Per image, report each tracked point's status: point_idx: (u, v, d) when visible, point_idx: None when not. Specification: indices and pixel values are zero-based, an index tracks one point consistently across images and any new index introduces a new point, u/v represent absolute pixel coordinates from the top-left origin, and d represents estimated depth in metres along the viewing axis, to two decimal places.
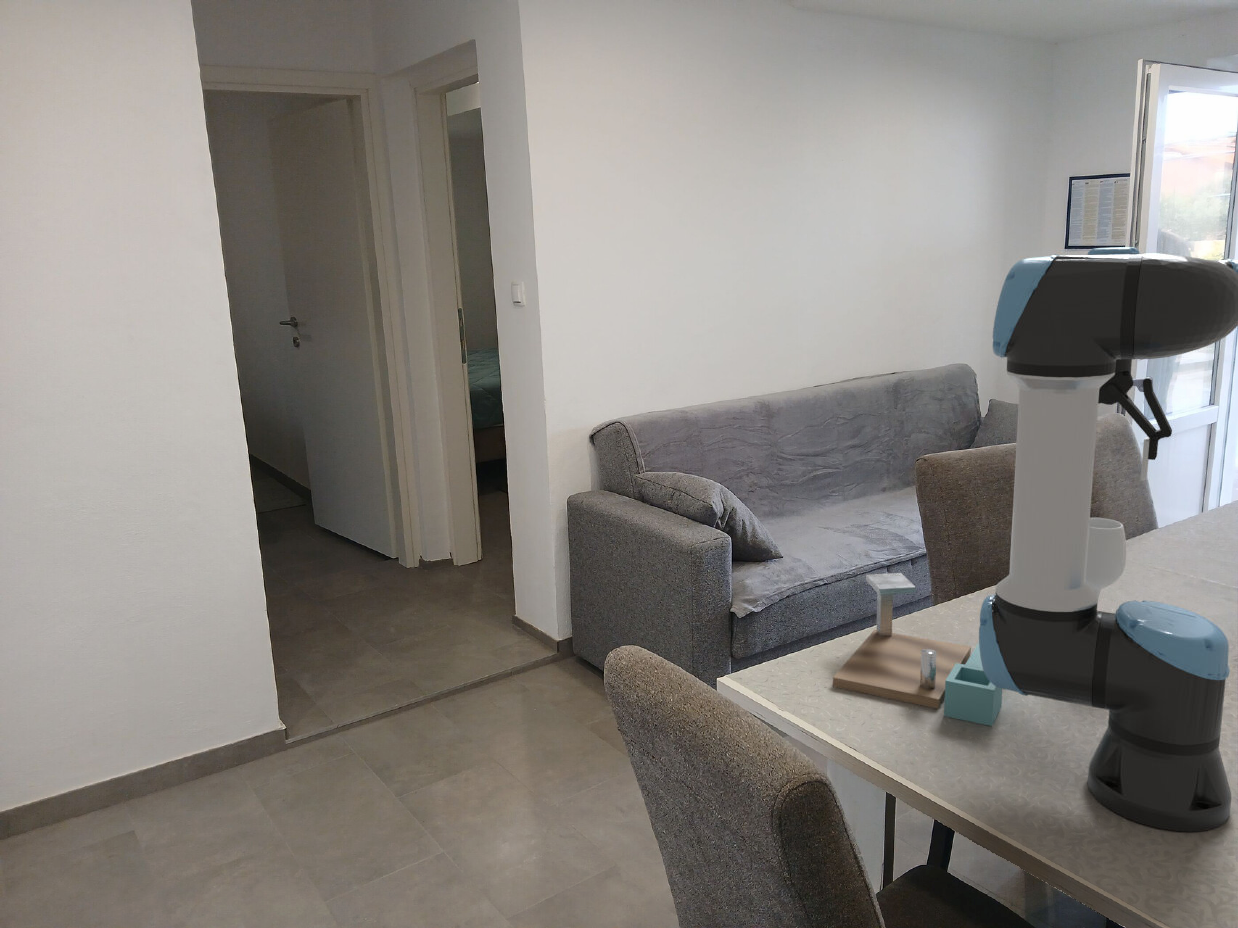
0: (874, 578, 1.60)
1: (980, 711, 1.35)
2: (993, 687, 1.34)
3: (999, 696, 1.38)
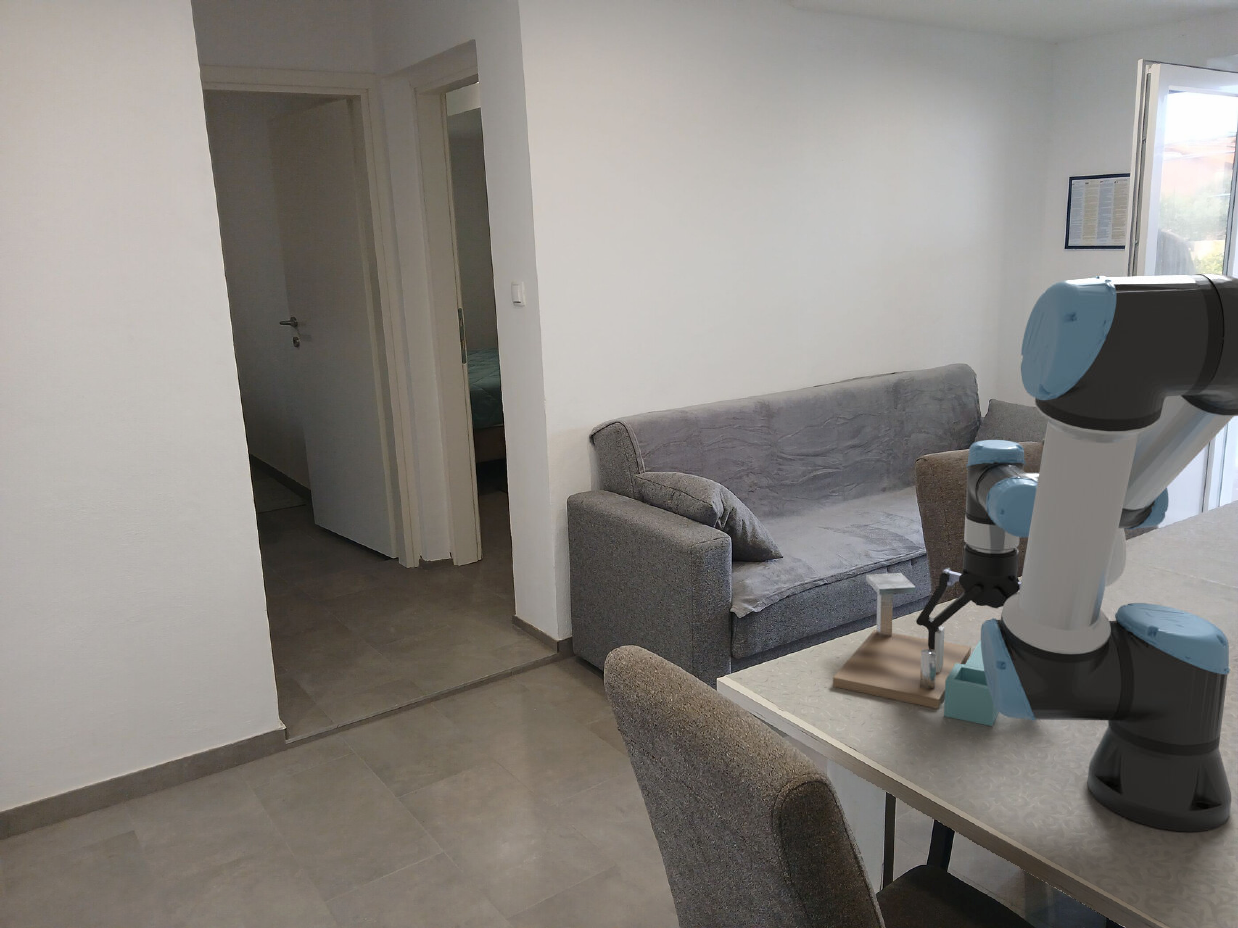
0: (874, 578, 1.60)
1: (980, 711, 1.35)
2: None
3: None
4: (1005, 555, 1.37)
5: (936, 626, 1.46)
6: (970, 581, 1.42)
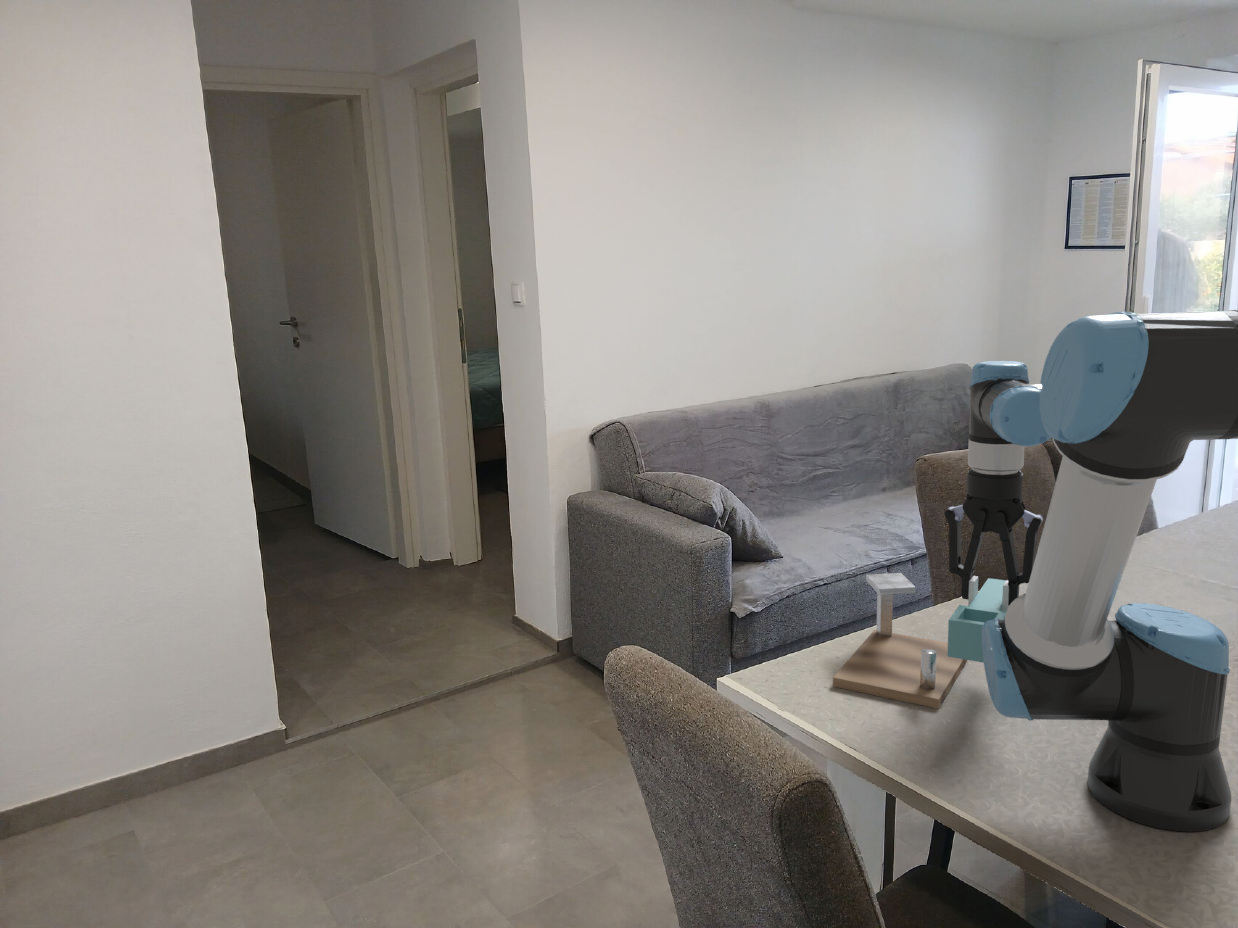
0: (874, 578, 1.60)
1: None
2: None
3: None
4: (1009, 476, 1.35)
5: (969, 572, 1.41)
6: (974, 507, 1.39)
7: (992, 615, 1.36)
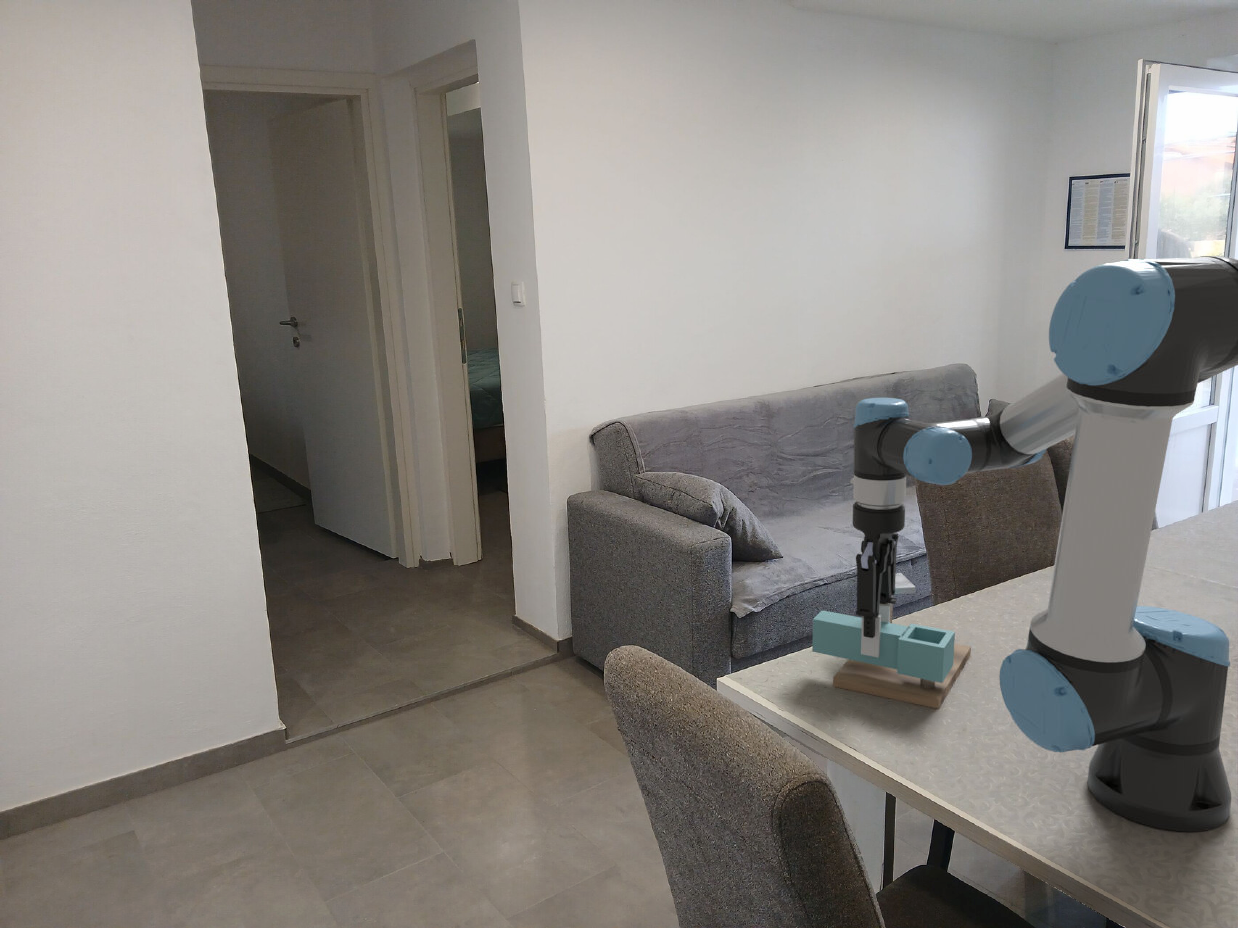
0: None
1: (951, 658, 1.43)
2: (949, 631, 1.43)
3: None
4: None
5: (878, 608, 1.42)
6: (880, 544, 1.40)
7: (913, 632, 1.45)
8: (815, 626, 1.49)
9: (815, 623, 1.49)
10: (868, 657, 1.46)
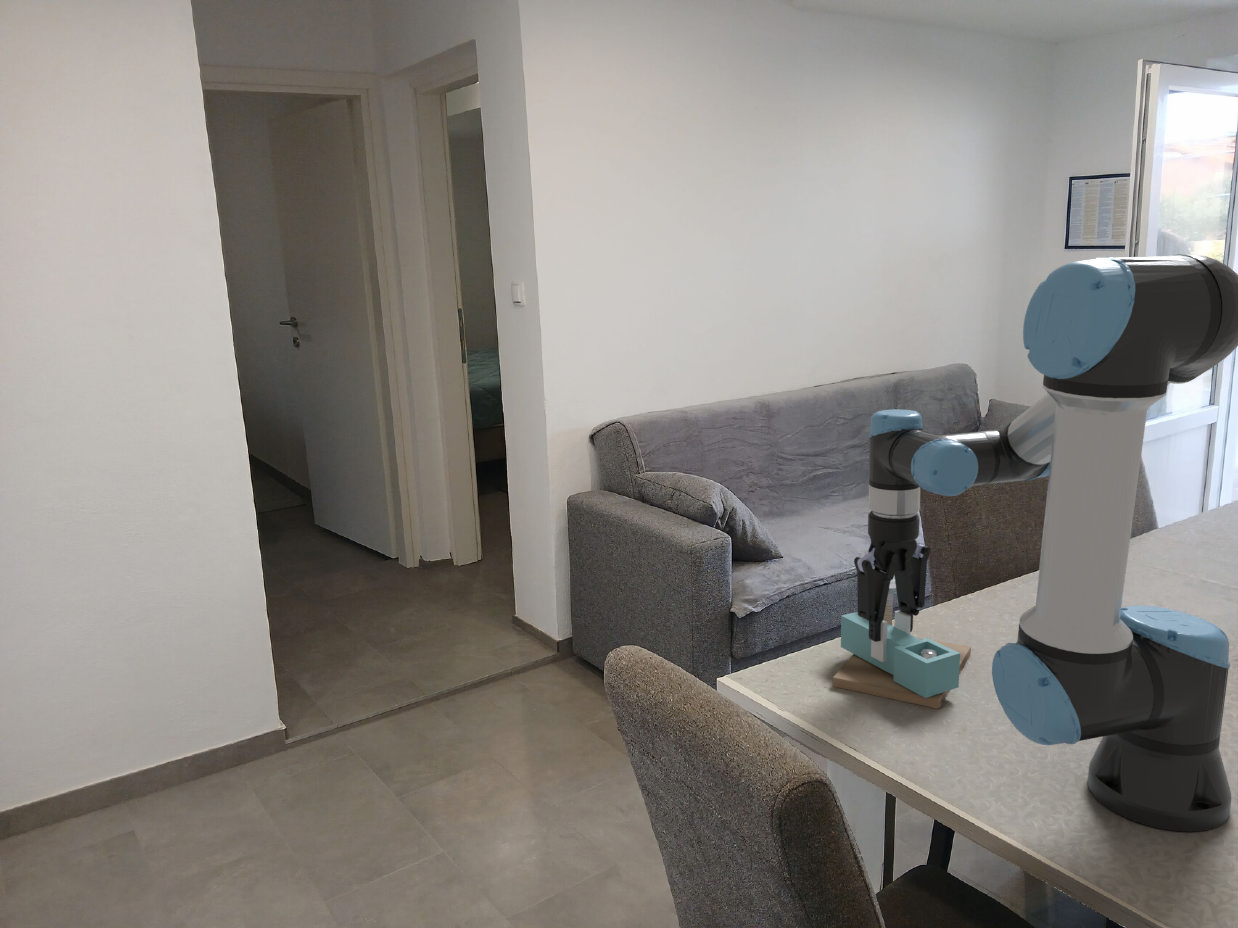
0: None
1: (951, 678, 1.41)
2: (955, 651, 1.42)
3: None
4: (917, 515, 1.44)
5: (882, 614, 1.46)
6: (885, 552, 1.44)
7: (923, 646, 1.45)
8: (842, 623, 1.56)
9: (842, 620, 1.56)
10: (878, 661, 1.50)
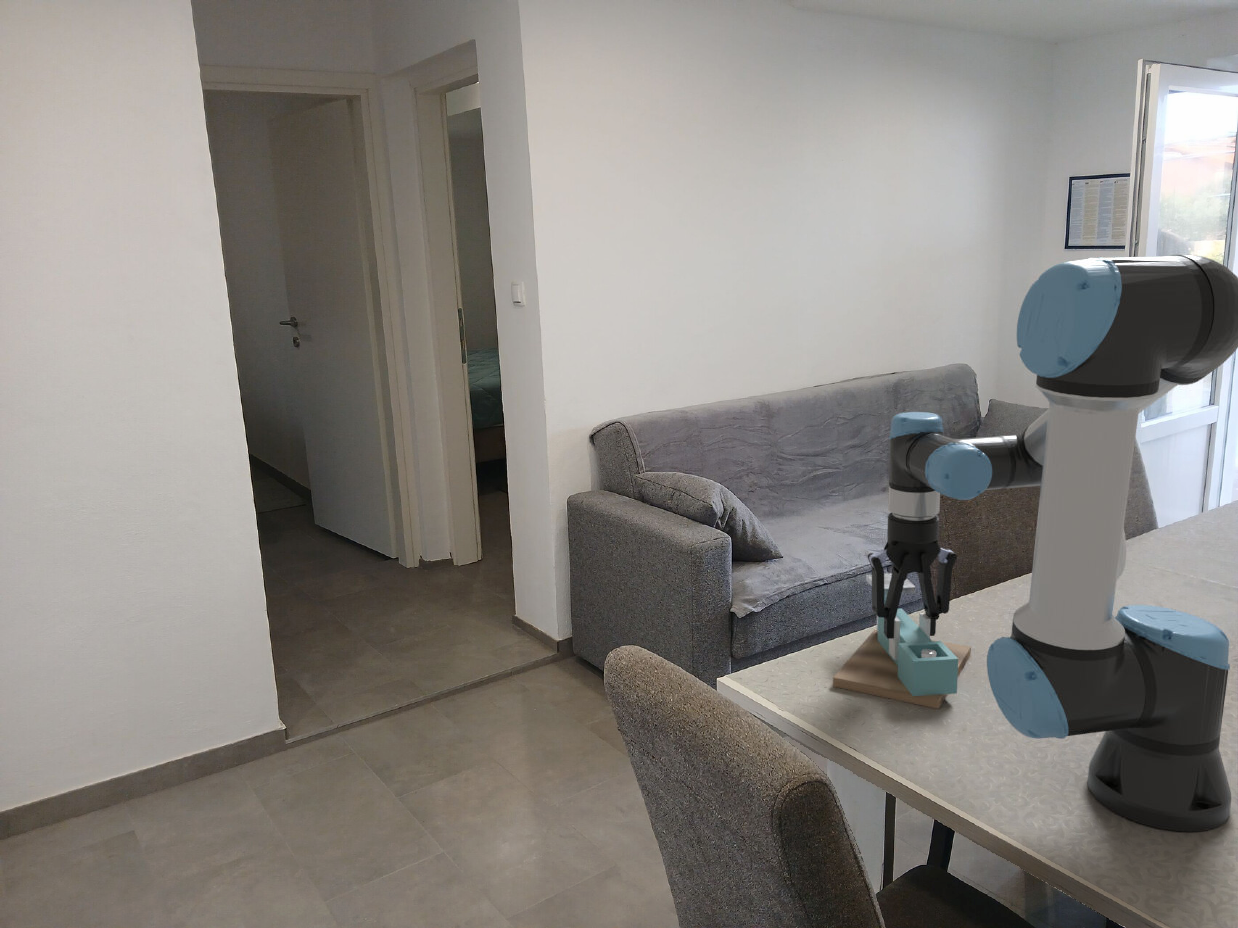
0: None
1: (946, 682, 1.41)
2: (954, 656, 1.41)
3: None
4: (935, 519, 1.44)
5: (895, 613, 1.48)
6: (899, 551, 1.46)
7: (932, 647, 1.45)
8: (878, 617, 1.59)
9: None
10: None
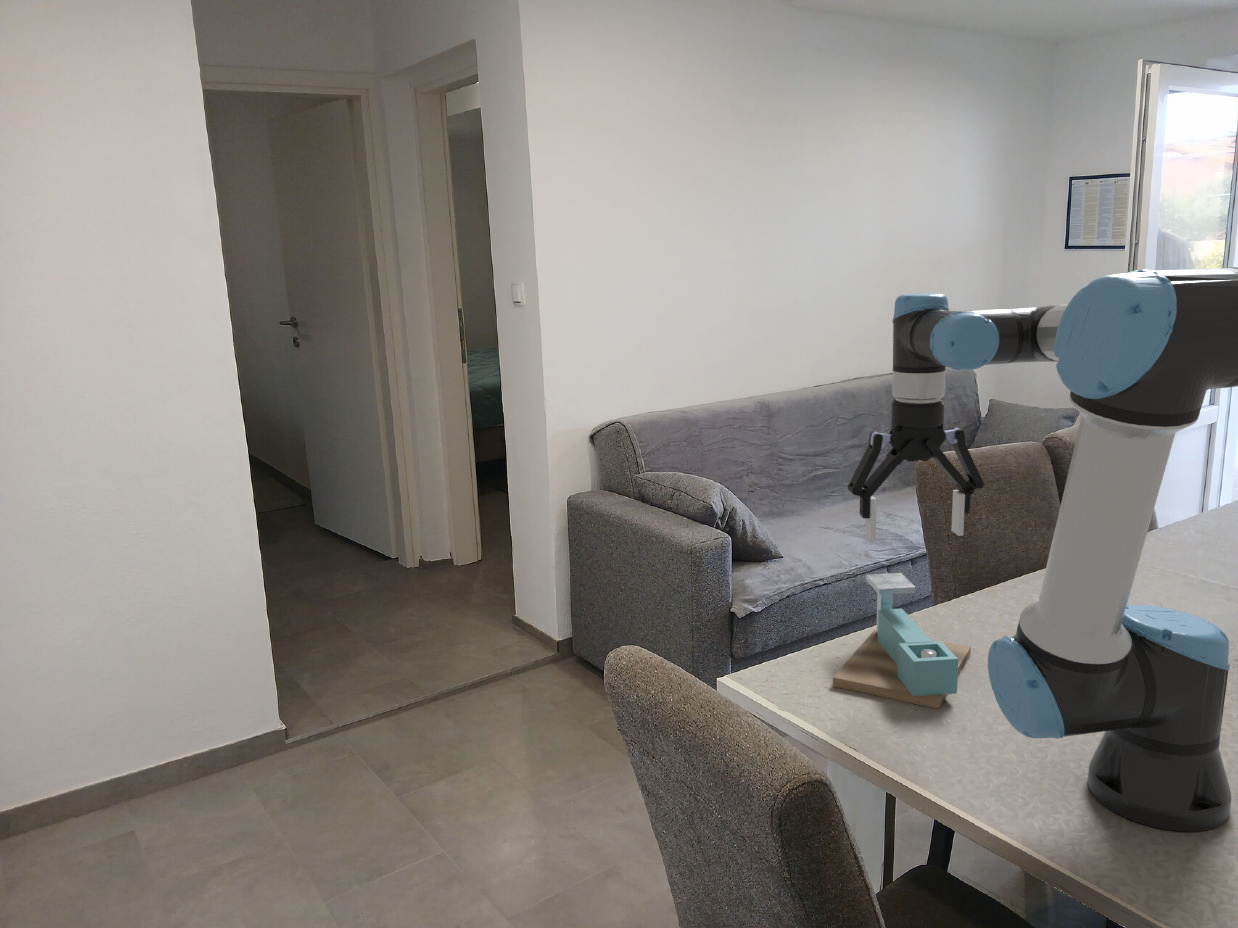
0: (874, 578, 1.60)
1: (946, 682, 1.41)
2: (954, 656, 1.41)
3: None
4: (940, 403, 1.40)
5: (872, 492, 1.44)
6: (903, 438, 1.42)
7: (932, 647, 1.45)
8: (878, 617, 1.59)
9: (878, 614, 1.59)
10: (895, 657, 1.52)
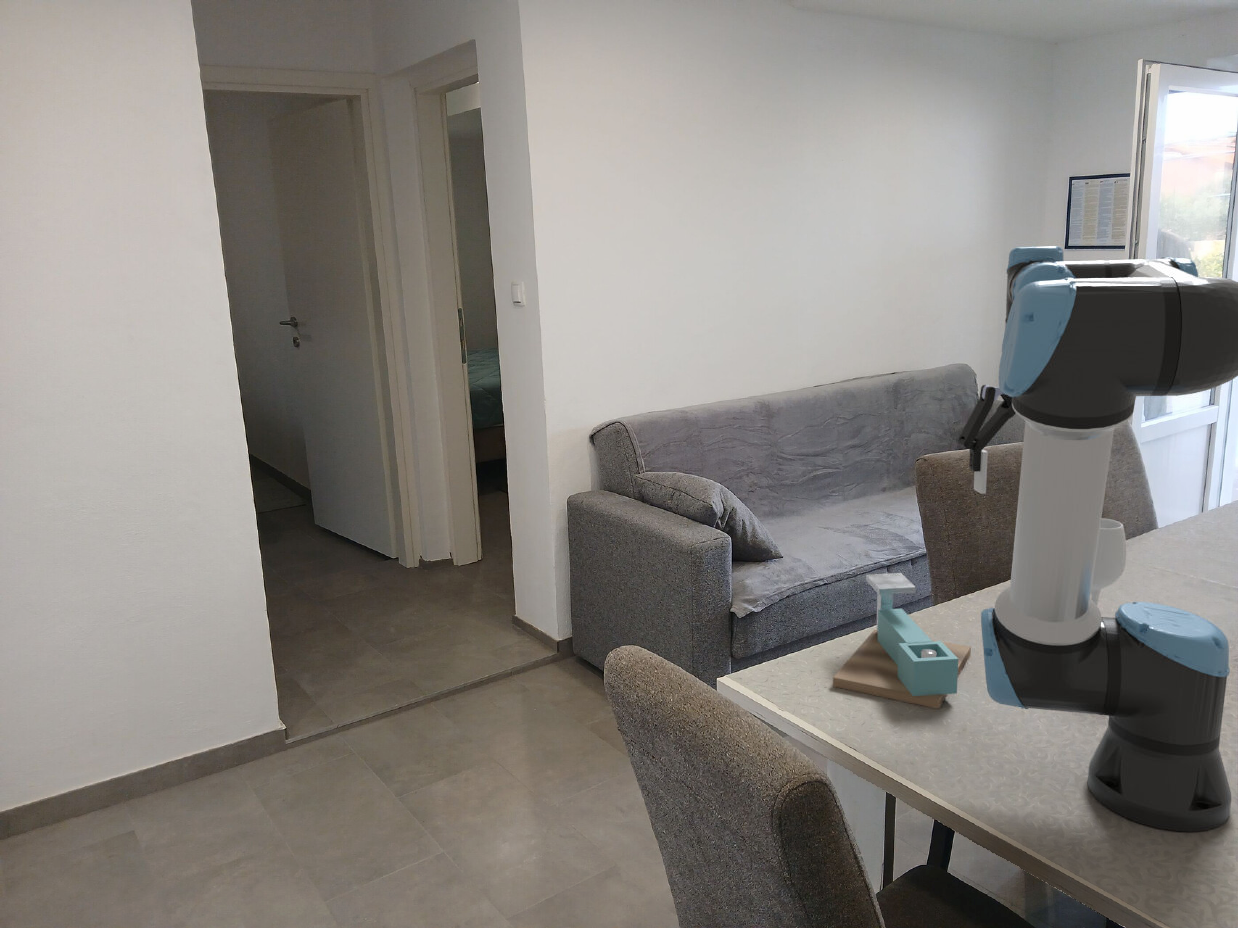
0: (874, 578, 1.60)
1: (946, 682, 1.41)
2: (954, 656, 1.41)
3: None
4: None
5: (983, 445, 1.45)
6: None
7: (932, 647, 1.45)
8: (878, 617, 1.59)
9: (878, 614, 1.59)
10: (895, 657, 1.52)
